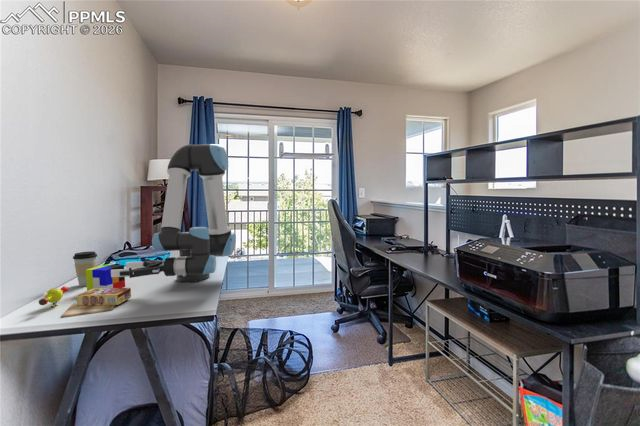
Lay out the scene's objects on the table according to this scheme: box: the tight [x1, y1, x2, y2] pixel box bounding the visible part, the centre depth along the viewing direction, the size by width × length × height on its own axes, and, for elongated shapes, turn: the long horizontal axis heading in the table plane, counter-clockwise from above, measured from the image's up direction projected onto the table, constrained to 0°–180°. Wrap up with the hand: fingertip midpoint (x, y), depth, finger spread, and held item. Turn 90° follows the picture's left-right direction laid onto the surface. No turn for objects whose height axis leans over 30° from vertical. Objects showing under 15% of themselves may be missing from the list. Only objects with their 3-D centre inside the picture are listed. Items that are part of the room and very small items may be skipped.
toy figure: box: [38, 286, 69, 308], centre depth 122 cm, size 18×6×7 cm, turn 16°
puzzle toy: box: [86, 264, 126, 291], centre depth 144 cm, size 10×10×10 cm
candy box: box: [76, 287, 132, 306], centre depth 125 cm, size 9×4×15 cm
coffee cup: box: [72, 250, 98, 287], centre depth 152 cm, size 9×9×15 cm
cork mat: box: [61, 303, 116, 318], centre depth 120 cm, size 15×13×1 cm
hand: (119, 269), depth 129 cm, fingers open, 13 cm apart
